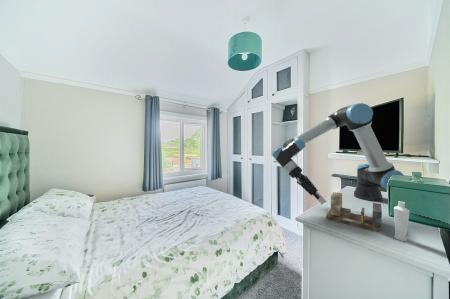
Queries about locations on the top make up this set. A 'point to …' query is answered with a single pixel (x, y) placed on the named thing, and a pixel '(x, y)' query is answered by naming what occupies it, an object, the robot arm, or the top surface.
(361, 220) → the peak needle
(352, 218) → the base
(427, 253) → the top surface
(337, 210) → the gauge plunger
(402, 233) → the perfume bottle
